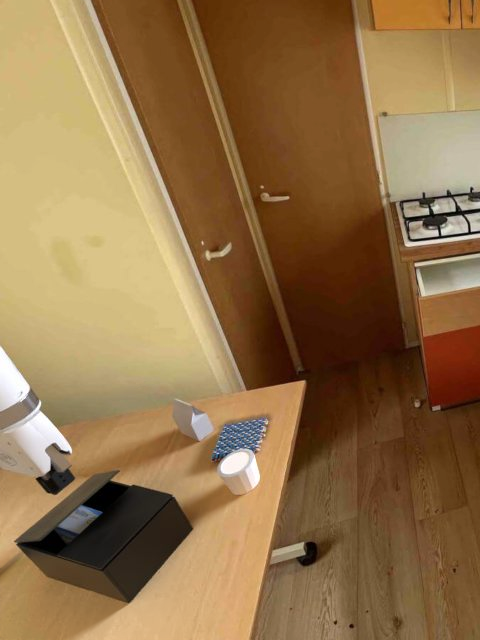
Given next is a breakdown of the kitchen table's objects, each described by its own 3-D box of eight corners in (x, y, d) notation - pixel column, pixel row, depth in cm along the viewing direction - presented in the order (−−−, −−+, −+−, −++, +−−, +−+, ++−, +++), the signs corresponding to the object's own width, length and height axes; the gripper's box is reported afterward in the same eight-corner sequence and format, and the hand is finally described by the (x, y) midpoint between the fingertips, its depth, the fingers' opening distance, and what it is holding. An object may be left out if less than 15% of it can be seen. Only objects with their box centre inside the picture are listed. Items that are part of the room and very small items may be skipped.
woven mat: (270, 419, 108) (268, 414, 107) (260, 455, 99) (257, 449, 98) (225, 428, 106) (222, 422, 105) (210, 465, 96) (207, 459, 95)
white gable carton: (199, 441, 102) (185, 412, 97) (180, 433, 104) (165, 404, 100) (214, 429, 105) (200, 400, 100) (195, 421, 107) (181, 393, 103)
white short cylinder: (269, 477, 94) (260, 457, 91) (238, 503, 89) (228, 482, 85) (251, 463, 97) (242, 443, 94) (220, 488, 92) (210, 467, 88)
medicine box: (72, 553, 80) (49, 526, 76) (98, 529, 83) (77, 502, 79) (105, 564, 78) (83, 537, 74) (129, 539, 82) (109, 512, 78)
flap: (15, 542, 71) (13, 541, 71) (95, 475, 82) (93, 474, 82) (40, 541, 68) (38, 539, 68) (120, 470, 79) (119, 469, 79)
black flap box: (46, 576, 77) (13, 541, 71) (118, 508, 88) (94, 473, 82) (129, 603, 73) (100, 568, 68) (193, 528, 84) (172, 494, 79)
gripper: (-68, 421, 62) (2, 497, 70) (7, 439, 59) (71, 517, 68) (-4, 384, 68) (54, 458, 77) (67, 399, 66) (119, 475, 74)
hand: (62, 486), depth 72 cm, fingers closed
